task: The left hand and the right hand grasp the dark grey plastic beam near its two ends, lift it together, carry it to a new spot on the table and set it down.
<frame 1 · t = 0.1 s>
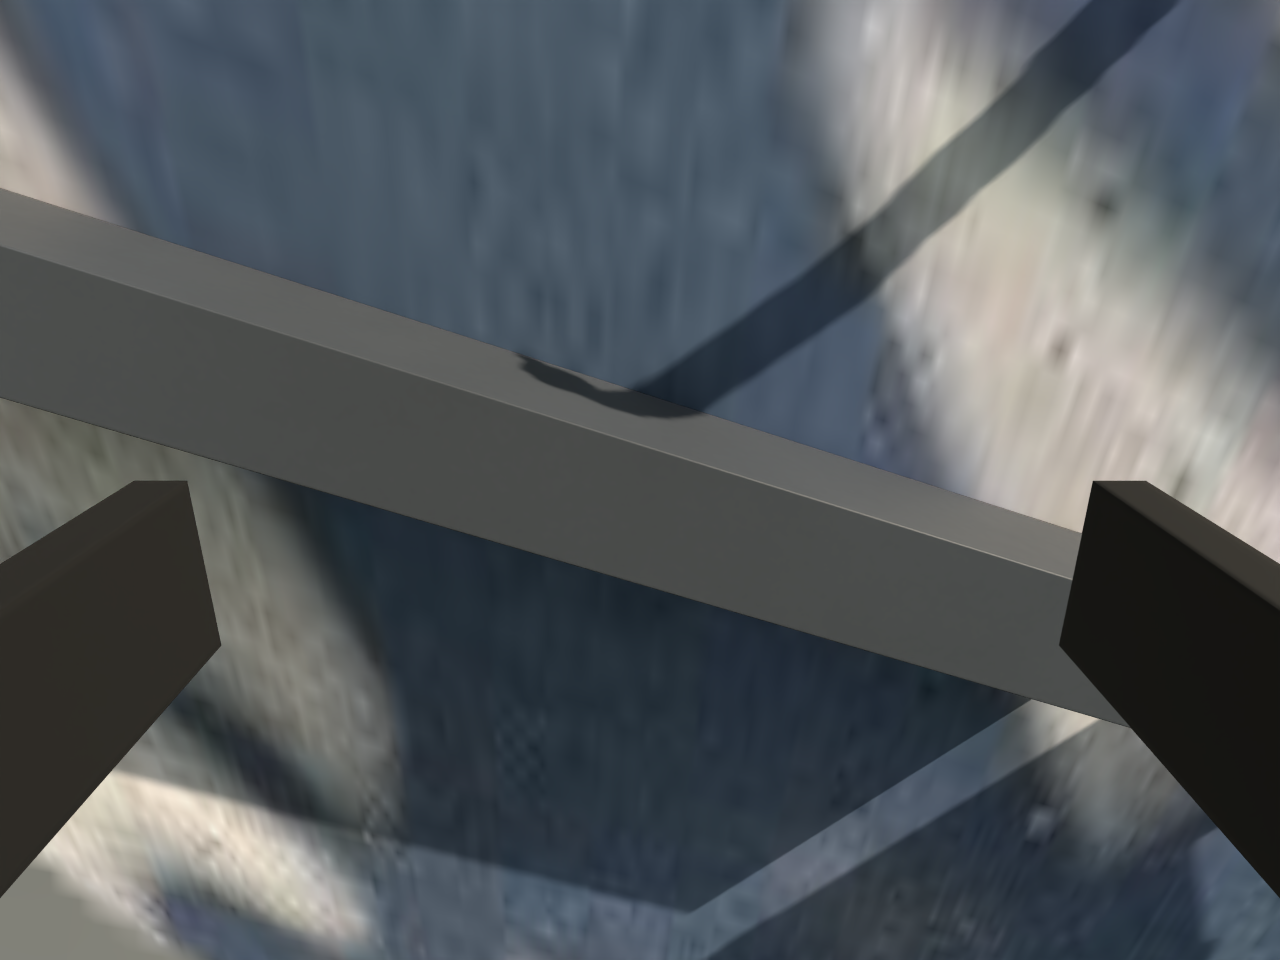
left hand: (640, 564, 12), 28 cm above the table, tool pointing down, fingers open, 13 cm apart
beam: (537, 421, 41), on the table
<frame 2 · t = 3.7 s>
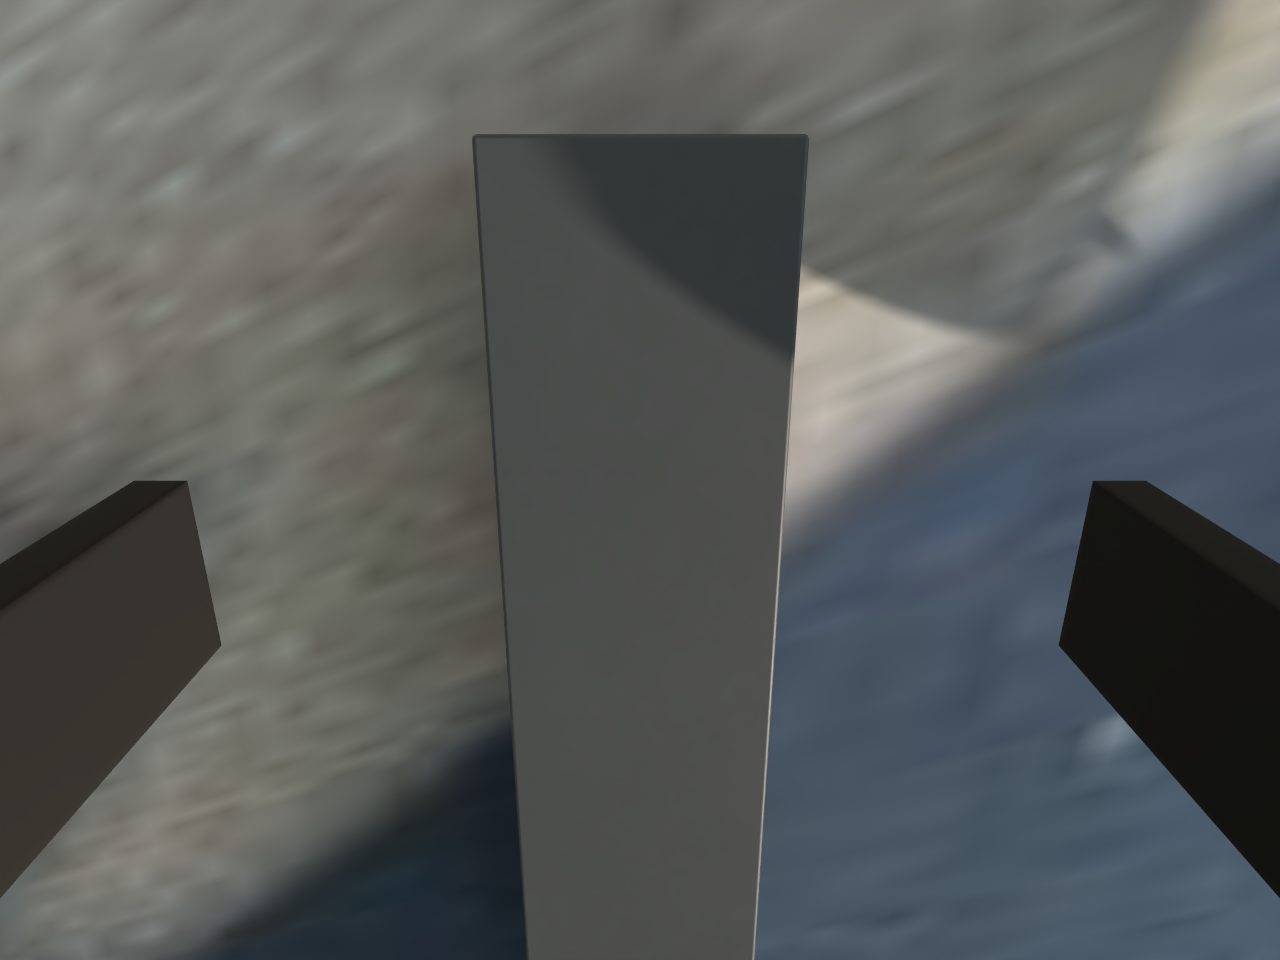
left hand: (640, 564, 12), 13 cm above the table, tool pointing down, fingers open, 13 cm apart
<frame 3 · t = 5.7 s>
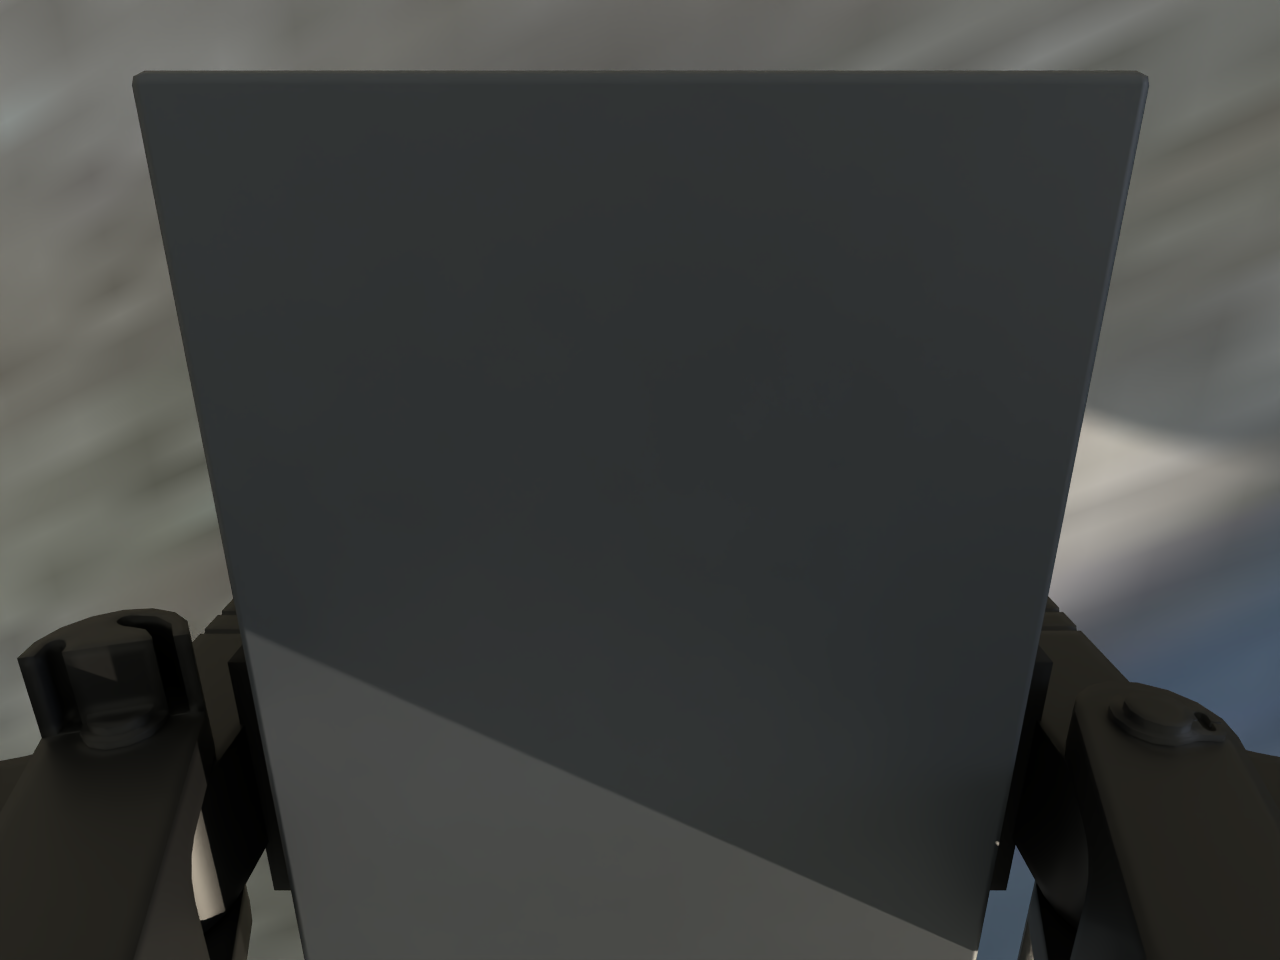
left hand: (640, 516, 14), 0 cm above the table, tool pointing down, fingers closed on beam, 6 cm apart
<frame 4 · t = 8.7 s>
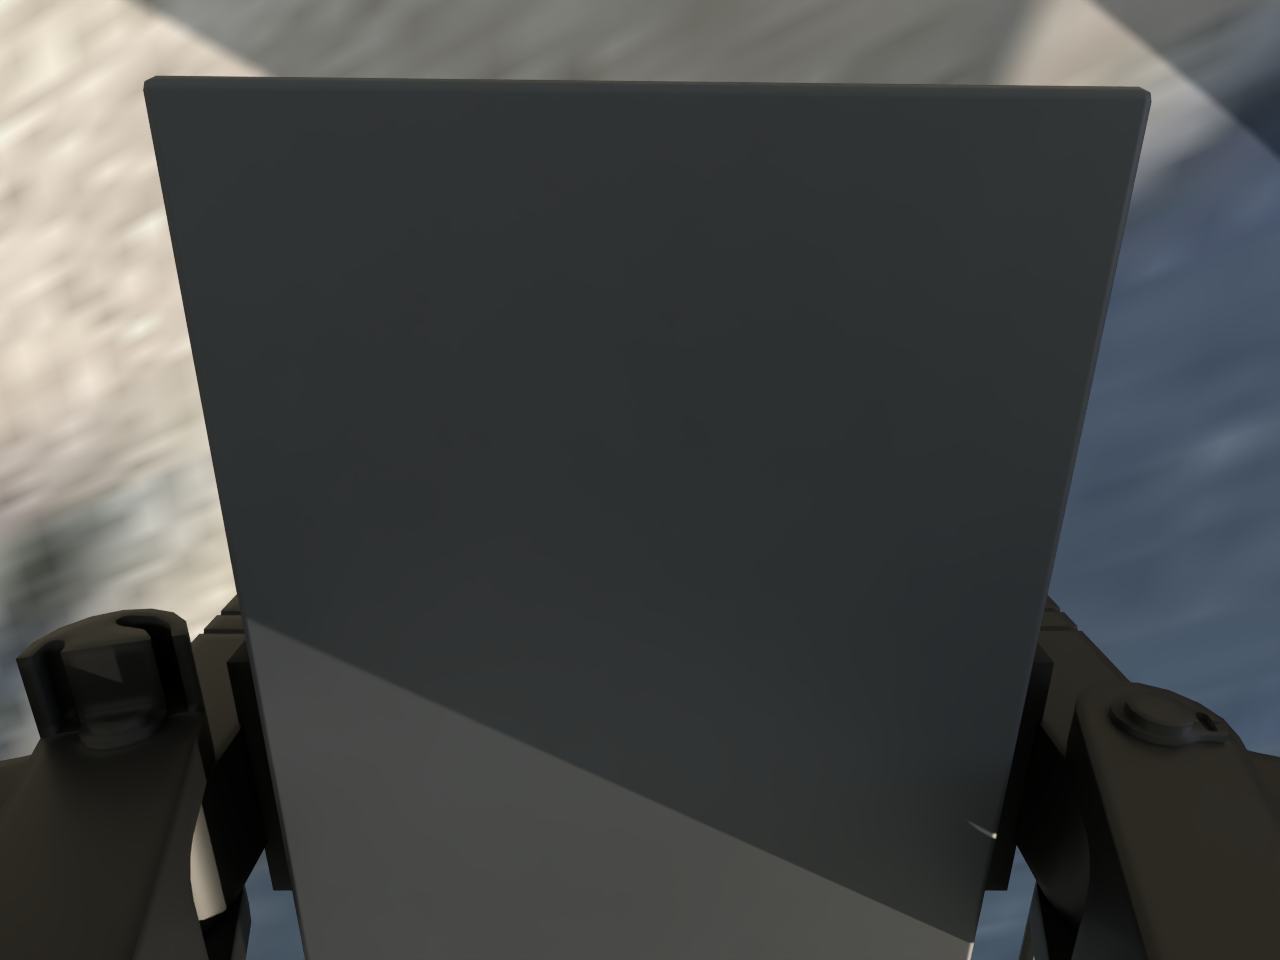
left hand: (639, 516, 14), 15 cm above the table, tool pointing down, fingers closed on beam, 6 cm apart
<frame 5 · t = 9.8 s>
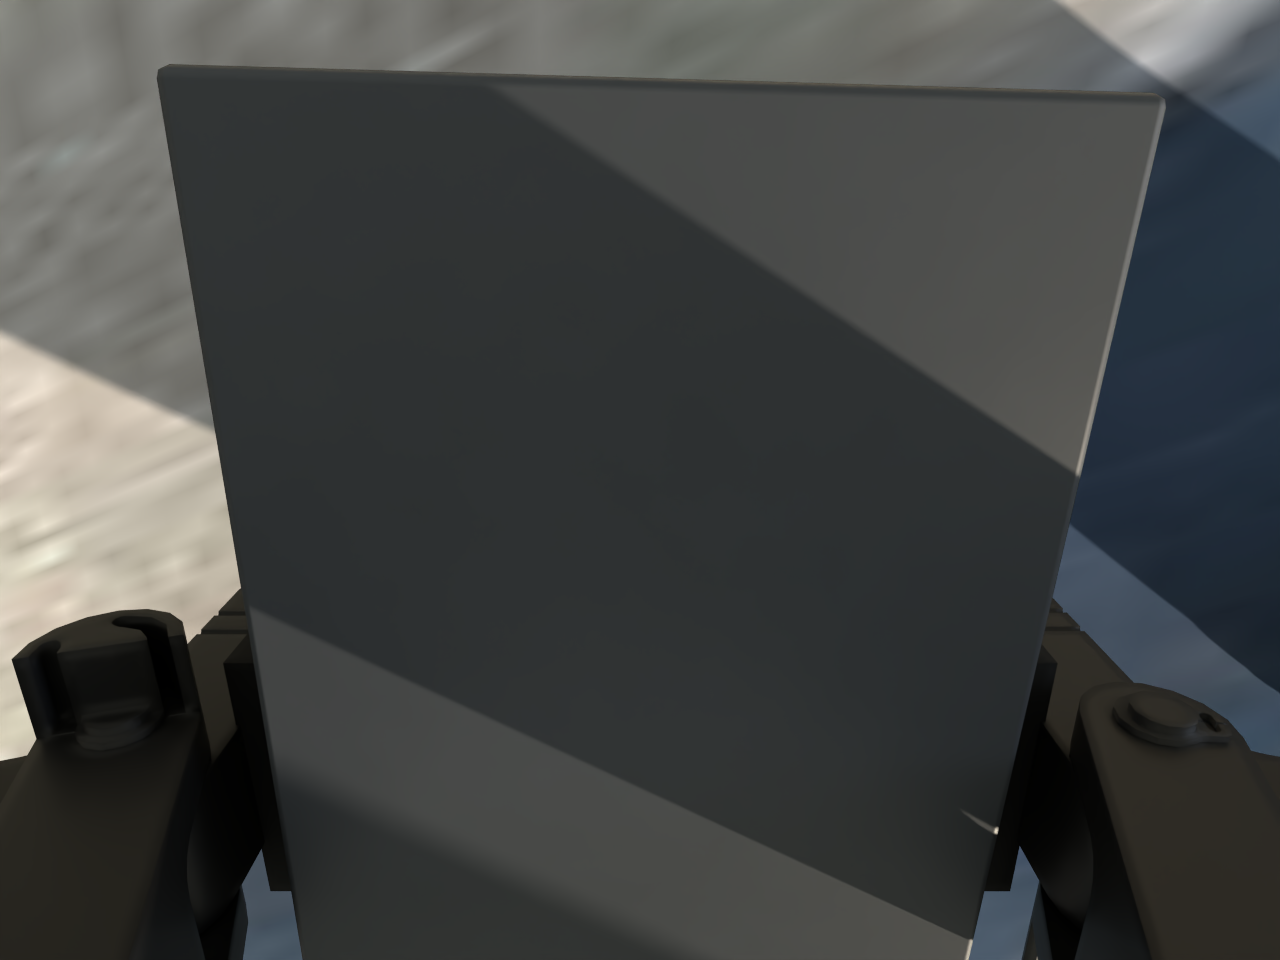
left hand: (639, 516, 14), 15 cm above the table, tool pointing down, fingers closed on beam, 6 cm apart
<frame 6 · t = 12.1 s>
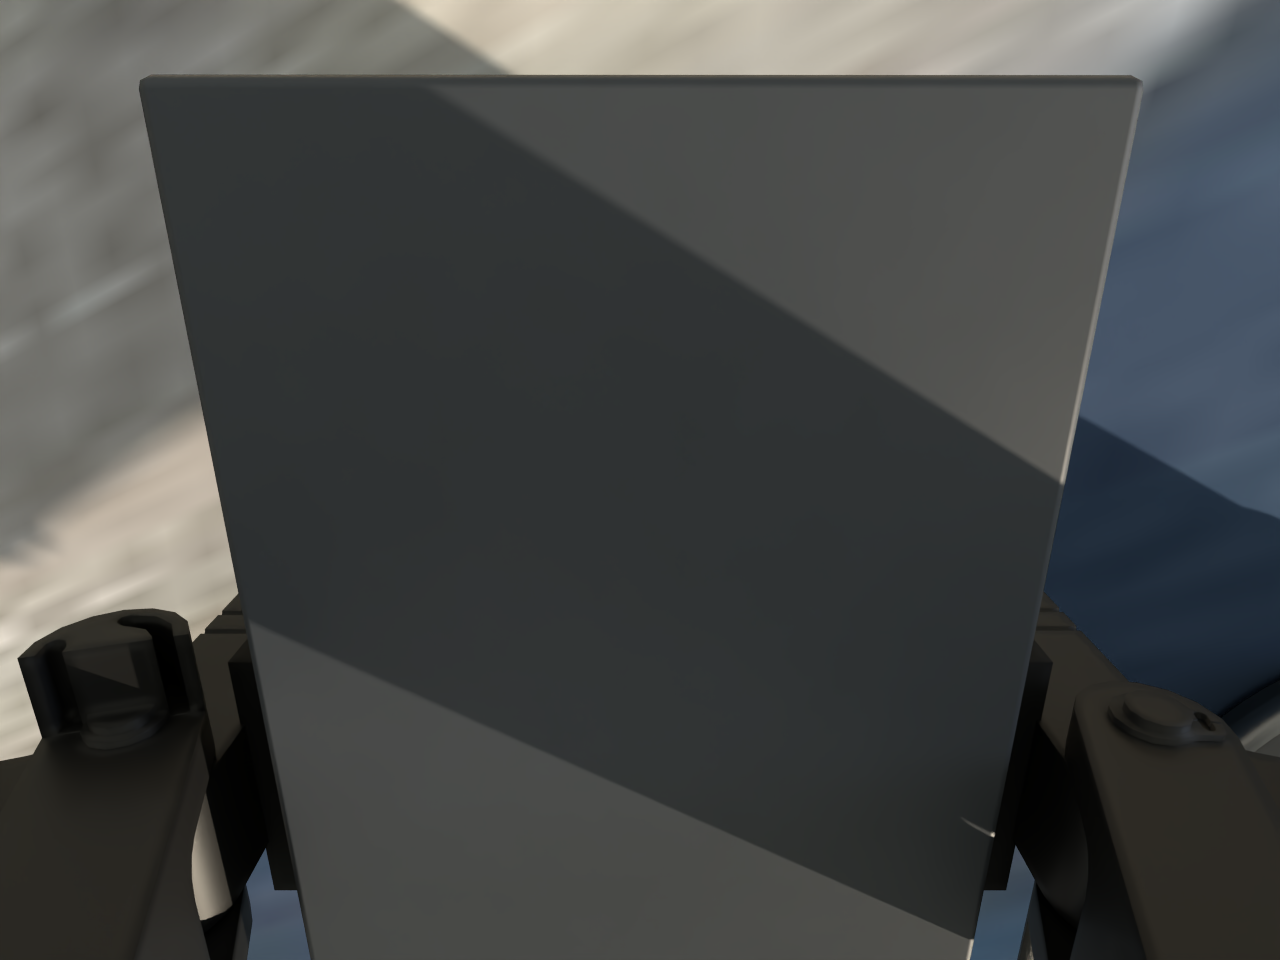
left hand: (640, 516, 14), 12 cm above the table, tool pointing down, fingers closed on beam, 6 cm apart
when the left hand's fingers open (2 cm above the table, at t = 14.1 s): beam stays where it is, on the table.
when the right hand's fingers open (2 cm above the table, at t = 14.1 s): beam stays where it is, on the table.
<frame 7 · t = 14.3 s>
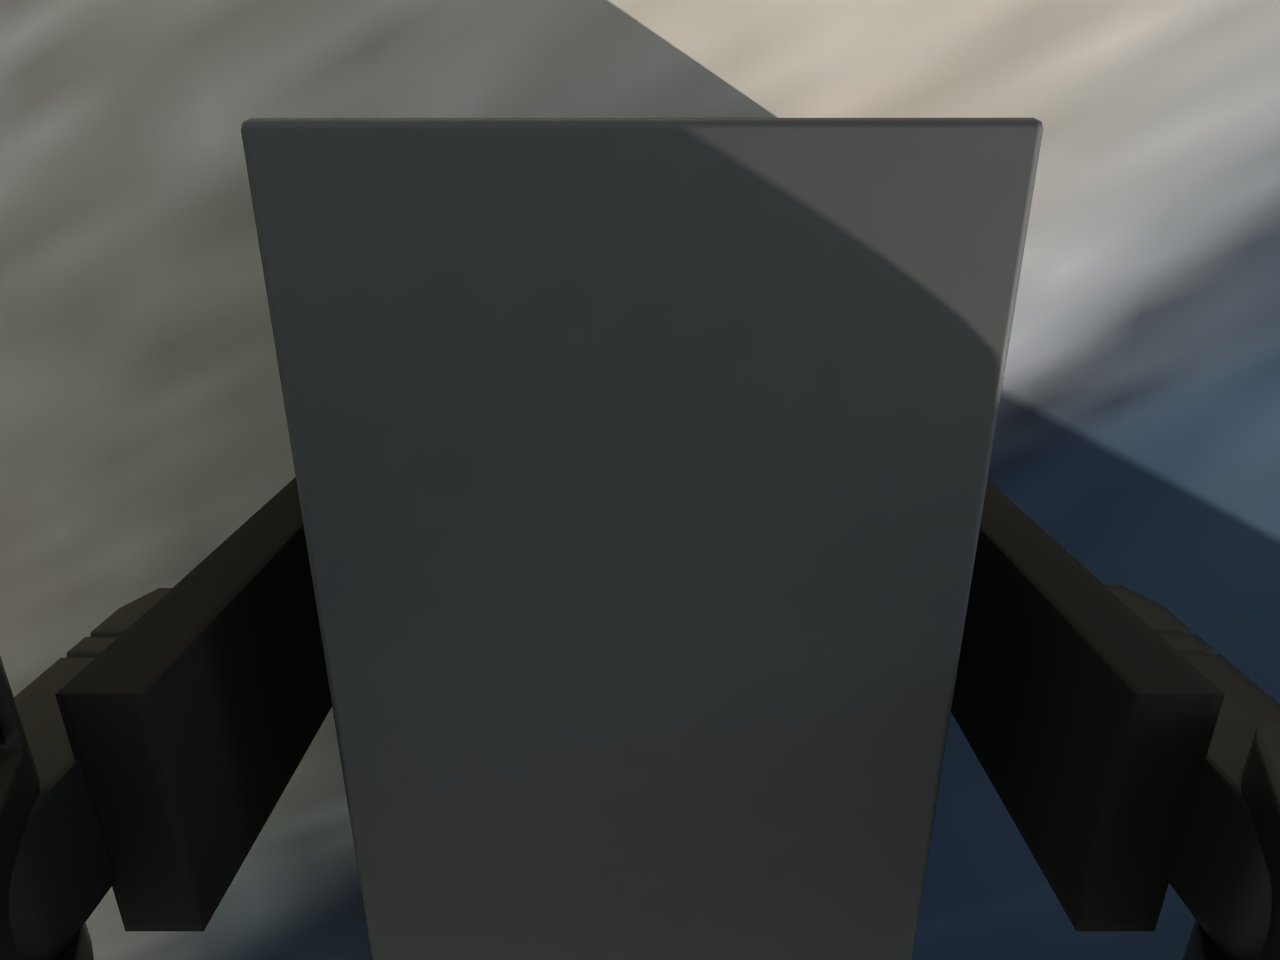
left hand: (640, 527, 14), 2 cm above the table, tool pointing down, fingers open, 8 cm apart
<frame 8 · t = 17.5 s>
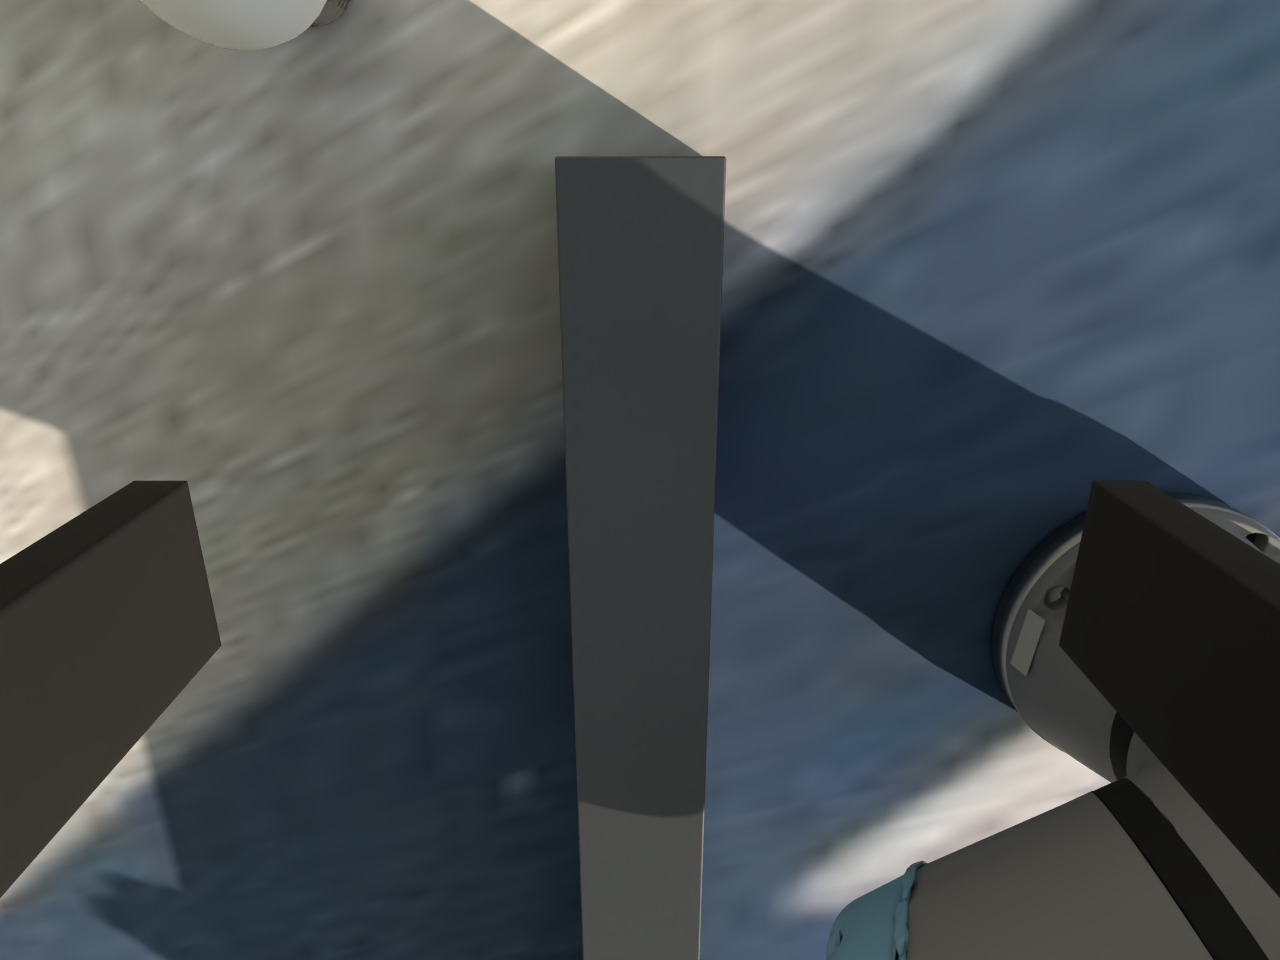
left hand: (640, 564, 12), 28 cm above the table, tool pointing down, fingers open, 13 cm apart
beam: (640, 774, 48), on the table
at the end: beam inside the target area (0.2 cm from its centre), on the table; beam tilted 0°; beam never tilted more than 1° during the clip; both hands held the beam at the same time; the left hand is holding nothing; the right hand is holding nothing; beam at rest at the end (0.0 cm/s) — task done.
